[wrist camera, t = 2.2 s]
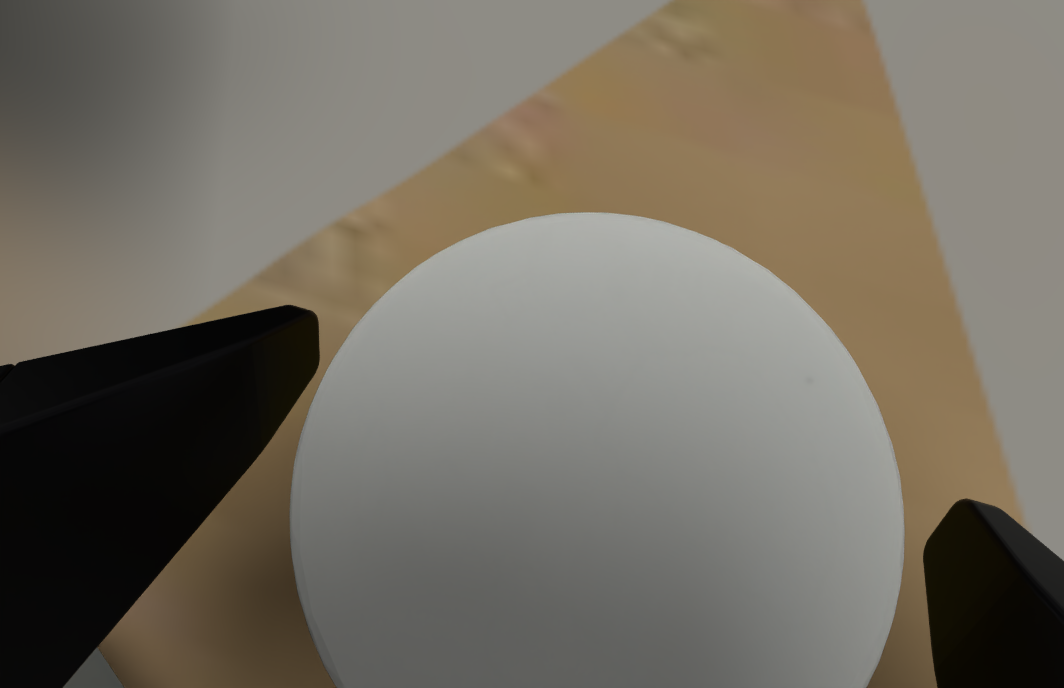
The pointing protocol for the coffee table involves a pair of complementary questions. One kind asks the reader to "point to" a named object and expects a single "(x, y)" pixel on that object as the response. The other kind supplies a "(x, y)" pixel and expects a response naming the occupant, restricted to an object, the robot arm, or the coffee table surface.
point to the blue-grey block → (94, 674)
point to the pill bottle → (595, 474)
